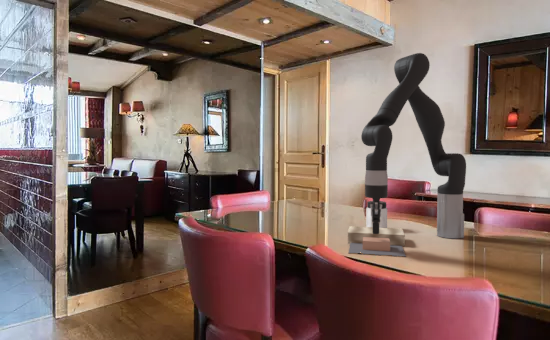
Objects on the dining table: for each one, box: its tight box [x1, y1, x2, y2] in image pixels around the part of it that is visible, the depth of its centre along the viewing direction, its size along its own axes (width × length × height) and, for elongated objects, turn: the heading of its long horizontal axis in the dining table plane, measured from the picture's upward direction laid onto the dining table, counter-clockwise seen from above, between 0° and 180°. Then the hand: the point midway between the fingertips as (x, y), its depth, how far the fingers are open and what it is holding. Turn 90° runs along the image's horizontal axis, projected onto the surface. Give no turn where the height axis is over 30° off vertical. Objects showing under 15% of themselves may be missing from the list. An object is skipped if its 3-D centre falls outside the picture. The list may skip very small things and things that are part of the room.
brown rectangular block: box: [363, 237, 390, 251], centre depth 125 cm, size 9×6×3 cm, turn 75°
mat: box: [348, 243, 407, 258], centre depth 124 cm, size 18×14×1 cm
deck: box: [347, 225, 406, 247], centre depth 136 cm, size 20×12×4 cm, turn 75°
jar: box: [365, 200, 388, 228], centre depth 159 cm, size 9×8×12 cm
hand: (375, 233), depth 124 cm, fingers closed
